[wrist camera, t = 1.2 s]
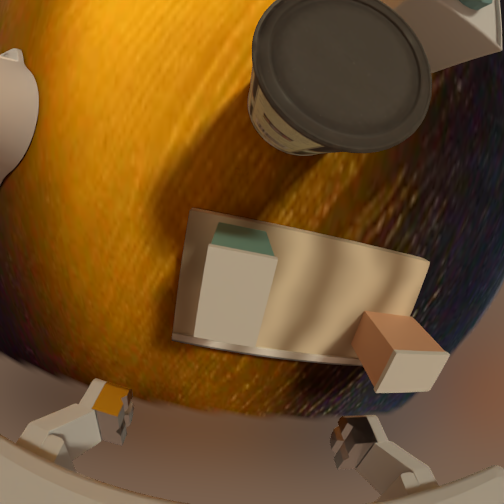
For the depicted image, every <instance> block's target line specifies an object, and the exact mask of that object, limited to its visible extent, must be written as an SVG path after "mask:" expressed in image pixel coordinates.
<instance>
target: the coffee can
mask: <svg viewBox="0 0 504 504" xmlns="http://www.w3.org/2000/svg"><path fill="white" fill-rule="evenodd" d="M252 63H253V67H252V75H251V84H250V89H249V94H248V111H249V116H250V119H251V121H252V124H253V125H254V128H255V129H256V130H257V132H258V133H259V134H260V136H261V137H262V138H263V139H264V140H265V141H266V142H268V143H269V144H270V145H272V146H273V147H275V148H276V149H278V150H280V151H283V152H285V153H288V154H292V155H298V156H310V155H316V154H321V153H331V152H351V153H371V152H378V151H382V150H385V149H388V148H391V147H393V146H395V145H397V144H399V143H401V142H403V141H404V140H406V139H407V138H408V137H409V136H411V135H412V134H413V133H414V132H415V131H416V130H417V128H418V127H419V126H420V124H421V123H422V121H423V119H424V117H425V115H426V113H427V110H428V107H429V104H430V99H431V90H432V78H431V70H430V66H429V62H428V59H427V56H426V53H425V51H424V49H423V46H422V44H421V42H420V41H419V39H418V37H417V36H416V34H415V33H414V31H413V30H412V29H411V28H410V26H409V25H408V24H407V23H406V21H405V20H404V19H403V18H402V17H401V16H400V15H399V14H398V13H396V12H395V11H394V10H393V9H392V8H390V7H389V6H388V5H386V4H385V3H383V2H382V1H380V0H276V1H275V2H274V3H273V4H272V5H271V6H270V7H269V8H268V9H267V10H266V11H265V12H264V14H263V15H262V17H261V18H260V20H259V22H258V24H257V26H256V29H255V32H254V36H253V41H252Z"/></svg>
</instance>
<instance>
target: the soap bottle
mask: <svg viewBox="0 0 504 504" xmlns="http://www.w3.org/2000/svg"><path fill="white" fill-rule="evenodd" d="M380 1H382V2H383V3H385V4H386V5H388V6H389V7H390V8H392V9H393V10H394V11H395V12H396V13H398V14H399V15H400V16H401V17H402V18H403V19H404V20H405V21H406V23H407V24H408V25H409V26H410V28H411V29H412V30H413V31H414V33H415V34H416V36H417V37H418V39H419V41H420V42H421V44H422V46H423V49H424V51H425V53H426V56H427V59H428V62H429V66H430V70H431V73H433V72H436V71H439V70H442V69H445V68H448V67H451V66H453V65H456V64H459V63H463V62H466V61H469V60H472V59H475V58H478V57H482V56H485V55H488V54H492V53H495V52H499V51H501V50H502V24H501V10H500V0H380Z"/></svg>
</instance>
